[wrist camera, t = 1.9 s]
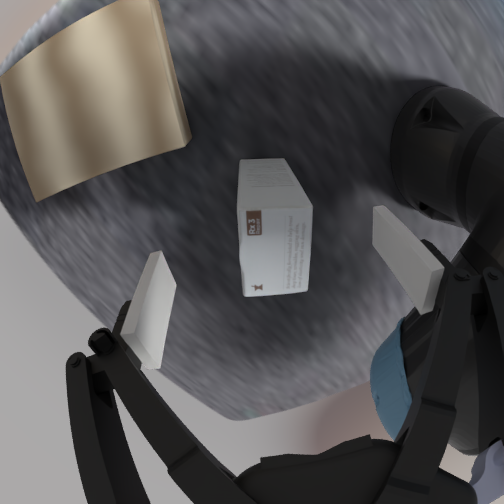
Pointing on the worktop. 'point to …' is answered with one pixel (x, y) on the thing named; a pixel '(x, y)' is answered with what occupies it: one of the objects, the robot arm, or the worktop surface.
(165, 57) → the base block
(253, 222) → the skincare box
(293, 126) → the worktop surface
